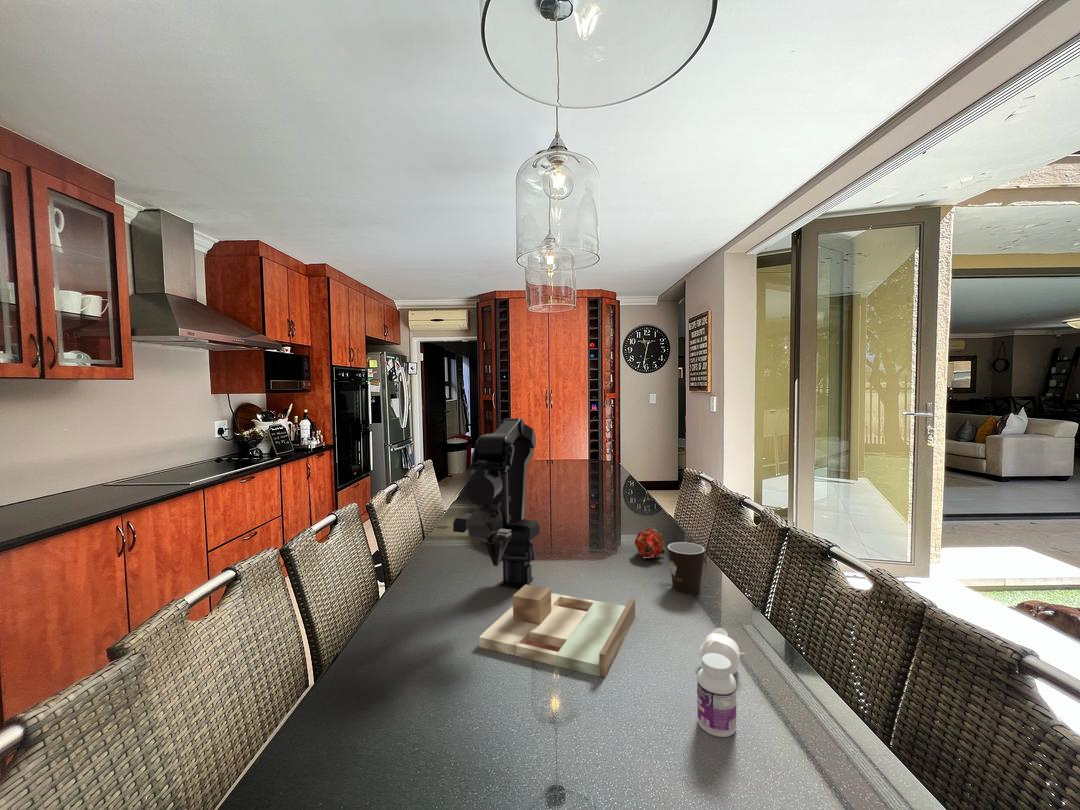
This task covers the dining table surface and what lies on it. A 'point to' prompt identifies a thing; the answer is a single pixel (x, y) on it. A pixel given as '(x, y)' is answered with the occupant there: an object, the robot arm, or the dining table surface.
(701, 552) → the coffee mug
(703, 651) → the elephant figurine
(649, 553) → the dragon fruit
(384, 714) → the dining table surface
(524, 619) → the walnut block
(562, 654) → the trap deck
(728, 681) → the pill bottle
